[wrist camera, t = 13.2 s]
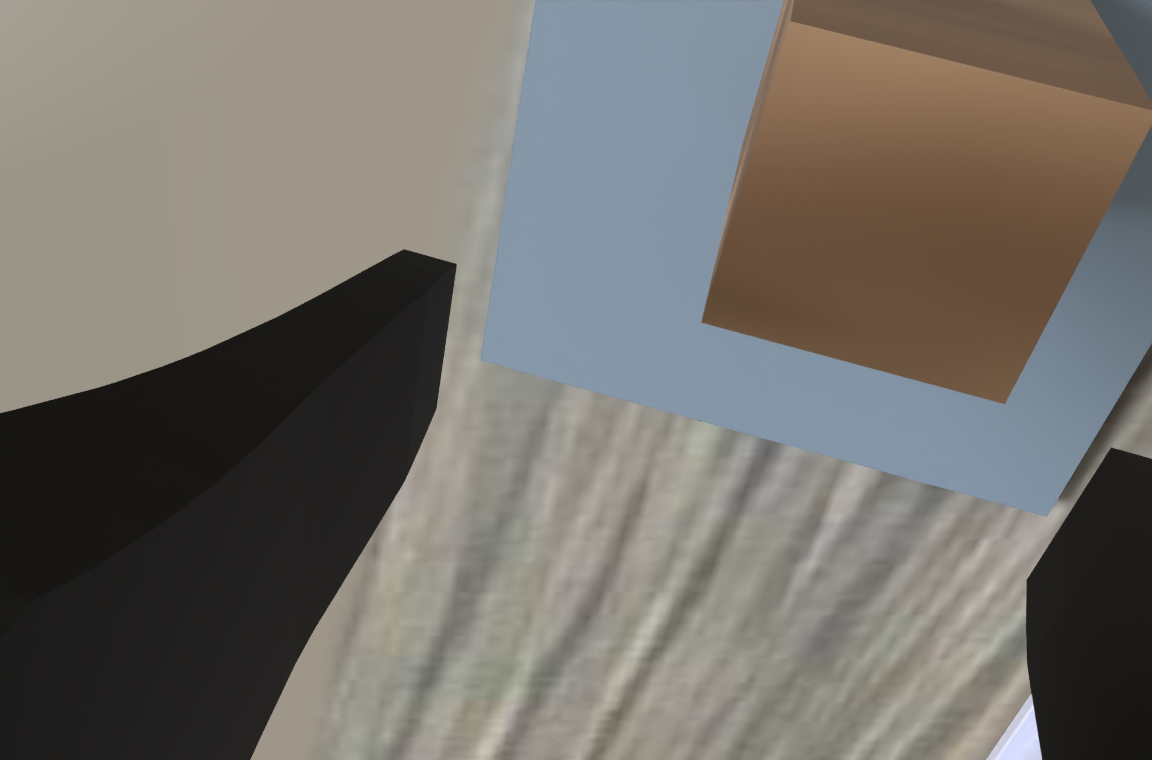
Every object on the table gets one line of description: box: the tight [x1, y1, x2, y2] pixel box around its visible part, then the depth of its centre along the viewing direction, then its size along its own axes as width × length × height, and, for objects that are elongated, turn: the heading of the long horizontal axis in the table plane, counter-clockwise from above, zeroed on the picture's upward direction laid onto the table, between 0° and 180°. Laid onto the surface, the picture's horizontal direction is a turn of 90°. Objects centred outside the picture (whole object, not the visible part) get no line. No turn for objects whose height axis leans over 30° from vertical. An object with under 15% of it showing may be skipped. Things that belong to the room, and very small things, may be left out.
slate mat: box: [480, 0, 1152, 517], centre depth 18 cm, size 16×12×1 cm
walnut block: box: [701, 0, 1152, 404], centre depth 15 cm, size 4×4×6 cm
